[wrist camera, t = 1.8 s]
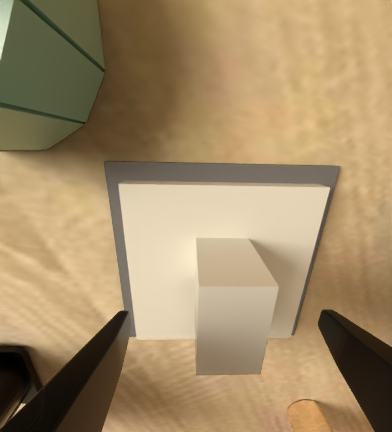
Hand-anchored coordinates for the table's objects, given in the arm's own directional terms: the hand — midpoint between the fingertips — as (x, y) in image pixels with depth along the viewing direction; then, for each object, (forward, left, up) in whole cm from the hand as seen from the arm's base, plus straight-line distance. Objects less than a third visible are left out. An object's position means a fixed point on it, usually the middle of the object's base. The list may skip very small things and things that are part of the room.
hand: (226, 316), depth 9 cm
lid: (0, 0, -4) cm, 4 cm away
